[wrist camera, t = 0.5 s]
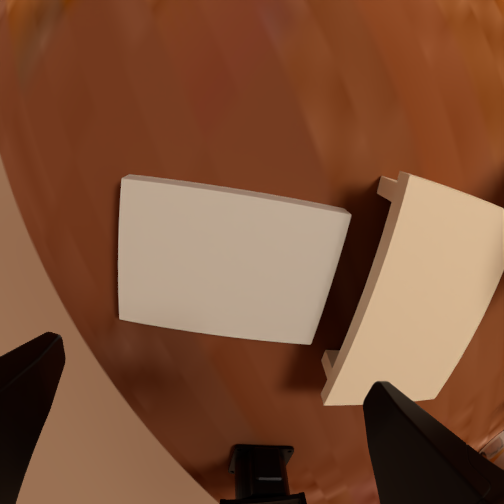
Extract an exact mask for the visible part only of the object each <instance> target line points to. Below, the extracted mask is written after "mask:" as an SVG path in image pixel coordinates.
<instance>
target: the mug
mask: <svg viewBox="0 0 504 504" xmlns="http://www.w3.org/2000/svg"><path fill="white" fill-rule="evenodd" d="M479 454H481V455H482V456H483V457H485V458H486V459H488V460H489V461H491V462H492V463H494V464H495V465H497V466H498V467H500V468H501V469H503V470H504V431H502V432H501V433H499V434H498V435H497V436H496V437H494V438H493V439H492V440H491V441H490V442H489V443H488V444H486V445H485V446H484V448H483V449H482V450H481V451H480V452H479Z"/></svg>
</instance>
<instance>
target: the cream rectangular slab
mask: <svg viewBox="0 0 504 504" xmlns="http://www.w3.org/2000/svg"><path fill="white" fill-rule="evenodd" d="M377 194H379V195H381V196H382V197H384V198H386V199H387V200H389V201H391V206H390V210H389V213H388V217H387V220H386V223H385V227H384V230H383V233H382V237H381V240H380V243H379V246H378V249H377V252H376V255H375V258H374V261H373V264H372V267H371V270H370V273H369V276H368V279H367V282H366V285H365V288H364V290H363V293H362V296H361V299H360V301H359V304H358V307H357V309H356V312H355V314H354V317H353V320H352V322H351V325H350V327H349V330H348V332H347V335H346V337H345V340H344V342H343V345H342V347H341V349H340V350H325V352H324V354H323V357H322V359H321V362H322V365H323V368H324V371H325V374H326V377H327V381H326V384H325V386H324V388H323V390H322V392H321V397H322V401H323V404H324V405H363V401H364V399H365V397H366V395H367V394H368V392H369V390H370V389H371V387H372V385H373V384H374V383H375V382H376V381H388V382H390V383H391V384H392V385H393V386H395V387H396V388H397V389H398V390H400V391H401V392H402V393H403V394H405V395H406V396H407V397H408V398H410V399H411V400H412V401H419V400H429V399H435V397H436V396H437V394H438V393H439V392H440V390H441V389H442V387H443V385H444V384H445V382H446V381H447V379H448V378H449V376H450V375H451V373H452V371H453V370H454V368H455V366H456V365H457V363H458V361H459V360H460V358H461V356H462V355H463V353H464V351H465V349H466V348H467V346H468V344H469V342H470V340H471V339H472V337H473V335H474V333H475V331H476V329H477V327H478V325H479V323H480V321H481V319H482V317H483V315H484V313H485V311H486V309H487V307H488V305H489V303H490V301H491V299H492V296H493V294H494V292H495V290H496V287H497V285H498V283H499V280H500V278H501V276H502V273H503V271H504V208H502V207H500V206H497V205H495V204H492V203H490V202H487V201H485V200H482V199H480V198H477V197H475V196H472V195H469V194H467V193H464V192H461V191H459V190H456V189H453V188H450V187H447V186H445V185H442V184H439V183H436V182H433V181H430V180H427V179H424V178H421V177H418V176H415V175H411V174H408V173H405V172H402V171H400V172H399V176H398V180H394V179H390V178H386V177H383V176H381V178H380V182H379V186H378V190H377Z"/></svg>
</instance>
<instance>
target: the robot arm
mask: <svg viewBox="0 0 504 504" xmlns="http://www.w3.org/2000/svg"><path fill="white" fill-rule="evenodd" d="M64 365H65V352H64V346H63V340H62V337H61V336H60V335H58V334H55V333H52V332H46V333H44V334H42V335H40V336H38V337H37V338H35V339H33V340H31V341H29V342H27V343H25V344H23V345H21V346H19V347H17V348H16V349H14V350H12V351H10V352H8V353H6V354H4V355H2V356H1V357H0V504H16V501H17V498H18V494H19V491H20V488H21V485H22V482H23V479H24V476H25V473H26V470H27V468H28V465H29V462H30V459H31V456H32V454H33V451H34V448H35V446H36V443H37V441H38V438H39V436H40V433H41V430H42V428H43V426H44V423H45V421H46V419H47V416H48V414H49V411H50V409H51V405H52V403H53V400H54V396H55V393H56V390H57V386H58V383H59V380H60V377H61V374H62V371H63V368H64ZM363 411H364V418H365V426H366V434H367V442H368V448H369V453H370V458H371V462H372V466H373V471H374V475H375V480H376V485H377V489H378V494H379V499H380V504H504V470H503V469H501V468H500V467H498V466H497V465H495V464H494V463H492V462H491V461H489V460H488V459H486V458H485V457H483V456H482V455H481V454H479V453H478V452H477V451H475V450H474V449H473V448H472V447H470V446H469V445H466V443H465V442H464V441H463V440H461V439H460V438H459V437H458V436H456V435H455V434H454V433H452V432H451V431H450V430H449V429H447V428H446V427H445V426H444V425H442V424H441V423H440V422H439V421H437V420H436V419H435V418H433V417H432V416H431V415H430V414H428V413H427V412H426V411H425V410H423V409H422V408H421V407H420V406H418V405H417V404H416V403H415V402H413V401H412V400H411V399H410V398H408V397H407V396H406V395H405V394H403V393H402V392H401V391H400V390H398V389H397V388H396V387H395V386H393V385H392V384H391V383H390V382H388V381H376V382H375V383H374V384H373V385H372V387H371V389H370V390H369V392H368V394H367V395H366V397H365V399H364V401H363ZM293 452H294V448H293V447H289V446H252V445H236V446H235V448H234V451H233V454H232V458H231V461H230V465H229V468H228V472H229V473H231V474H235V496H236V499H234V500H226V499H220V504H307V502H306V498H305V494H304V492H301V493H299V494H292V495H290V491H289V484H288V477H287V470H286V465H287V463H288V461H289V460H290V458H291V456H292V454H293Z"/></svg>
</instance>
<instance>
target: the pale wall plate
mask: <svg viewBox="0 0 504 504" xmlns="http://www.w3.org/2000/svg"><path fill="white" fill-rule="evenodd" d="M351 216H352V215H351V214H350V213H349V212H348V211H347V210H346V209H344V208H340V207H335V206H330V205H325V204H320V203H315V202H310V201H304V200H299V199H294V198H288V197H283V196H277V195H271V194H265V193H260V192H254V191H248V190H241V189H235V188H229V187H222V186H216V185H209V184H202V183H195V182H188V181H180V180H173V179H165V178H157V177H149V176H140V175H131V174H129V175H127V176H125V177H123V178H122V180H121V194H120V211H119V236H118V298H119V319H121V320H126V321H131V322H137V323H142V324H148V325H153V326H159V327H165V328H172V329H178V330H184V331H191V332H198V333H205V334H212V335H220V336H228V337H236V338H245V339H254V340H263V341H273V342H284V343H295V344H308V345H311V343H312V340H313V337H314V335H315V332H316V329H317V326H318V323H319V320H320V317H321V314H322V311H323V308H324V305H325V302H326V299H327V296H328V293H329V290H330V287H331V284H332V281H333V277H334V274H335V271H336V268H337V264H338V261H339V258H340V254H341V251H342V248H343V244H344V241H345V237H346V234H347V230H348V226H349V223H350V219H351Z"/></svg>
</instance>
